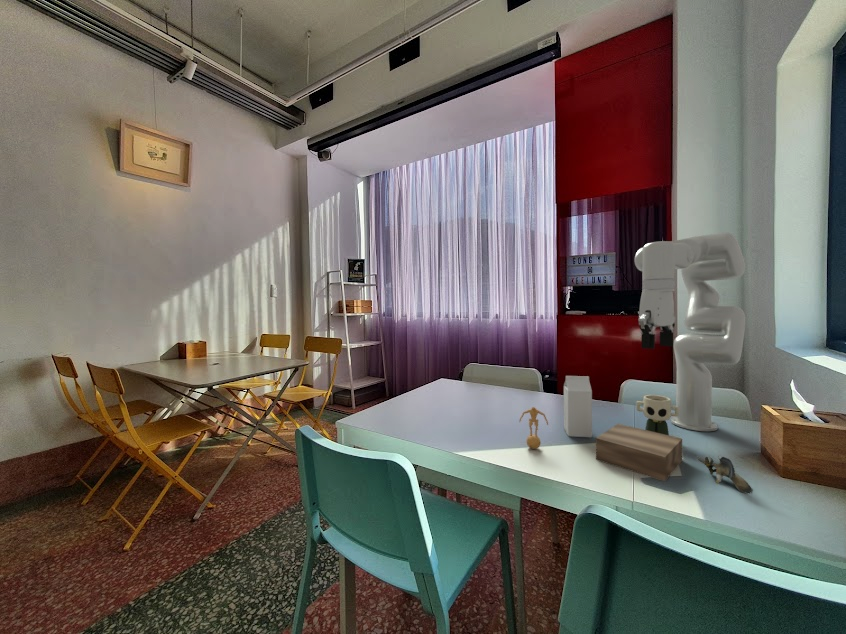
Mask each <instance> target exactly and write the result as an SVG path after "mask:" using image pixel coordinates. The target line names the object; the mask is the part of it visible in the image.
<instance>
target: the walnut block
mask: <svg viewBox="0 0 846 634" xmlns="http://www.w3.org/2000/svg"><path fill="white" fill-rule="evenodd" d="M595 460H597V461H599V462H603V463H606V464H609V465H612V466H616V467H618V468H621V469H624V470H627V471H630V472H634V473H636V474H640V475H643V476H646V477H650V478H652V479H656V480H659V481H661V482H666V481H667V480H668V478H670V476H671V475H672V474H673V472H674V471H675V470H676V469H677V468H678V466H679V465H680V464H681V462H682V461H683V438H680V437H679V436H678V437H677V436H672V435H670V434H669V435H665V434H660V433H656V432H652V431H647V430H645V429H642V428H638V427H635V426H631V425H625V424H621V423H617V424H615V425H614V426H612V427H610V428H609V429H608V430H606V431H605V432H603V433H601V434H600V435H598V436H596V437H595Z"/></svg>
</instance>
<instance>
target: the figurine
mask: <svg viewBox="0 0 846 634" xmlns="http://www.w3.org/2000/svg"><path fill="white" fill-rule="evenodd" d="M528 413H529V415H530V418H529V419H528V427H529V430H530V431H529V435H528V437H527V438H526V445H527V446H528V447H529V448H530V449H532V450H536V449H539V448H540V446H541V439H540V437H539V436H538V430H539V428H538V427H539V419H538V418H537V416H538V414H539V415H542V416H543V418H544V420H545V422H546V425H549V422H548V421H549V420H548V419H547V416H546V414H545V413H544V412H541V411H540V410H538V409H537V408H536V407H535V406H532V407H531V409H530V408H529V409H528V410H525V411H523V412H522V414H521V416H520V418H519V423H521V421H522V419H523V417H524V415H526V414H528ZM533 424H534V426H535V428H534V430H535V431H534V434H533V428H532V426H533Z"/></svg>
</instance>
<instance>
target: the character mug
mask: <svg viewBox="0 0 846 634" xmlns="http://www.w3.org/2000/svg"><path fill="white" fill-rule="evenodd" d="M641 405H643V408H641ZM672 409H674V412H672ZM636 411H637V412H643V415H644V416H645V418H648V419H647V420H646V423H645V429H644V430H647V431H652V432H656V433H660V434H665V435H669V436H670V434H669V426H668V422H667V421H670V420H671V418H672V417H674V416H676V417H677V416H678V415H679V407H678V406H676V405H674V404H672V399H671V398H670V397H667V396H663V395H658V394H647V395H644V396H643V400H642V401H641V400H637V401H636Z"/></svg>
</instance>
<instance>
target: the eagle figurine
mask: <svg viewBox="0 0 846 634" xmlns="http://www.w3.org/2000/svg"><path fill="white" fill-rule="evenodd" d="M717 458H718V459H719V460H718V461H719V462H718V463H714V461H715V460H714V459H713V458H712V457H708V456H705V457H704V460H703V459H701V458H700V457H699V456H696V459H697V461H698V462H700V463H702V464H704V466H706V468H707V469H708V471H709V473H710V474H709V475H713V473H715V474H716V482H715V483H716V484H719V482H720V483H721V482H722V480H723V477H726V478H729V479H730V480H731V482H732V483H733V484H734V485H735V487H736V489H737V491H739V492H741V493H742V494H743V493H744V494H751V493H752V491H753V490H752V486H751V485H750V484H749V483H748V482H747V481H746V480H745V479H744V478H743V477H742V476H740V475H739V474H738V473H736V471H735V466H734V465H733V462H732V461H731V459H730V458H727V457H725V456H722V455H720V454H717ZM713 468H714V469H713Z"/></svg>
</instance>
